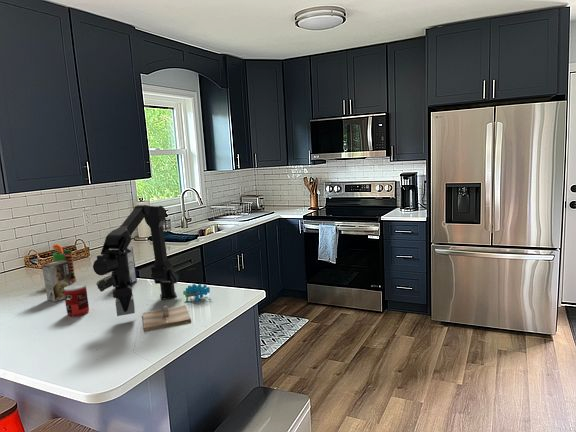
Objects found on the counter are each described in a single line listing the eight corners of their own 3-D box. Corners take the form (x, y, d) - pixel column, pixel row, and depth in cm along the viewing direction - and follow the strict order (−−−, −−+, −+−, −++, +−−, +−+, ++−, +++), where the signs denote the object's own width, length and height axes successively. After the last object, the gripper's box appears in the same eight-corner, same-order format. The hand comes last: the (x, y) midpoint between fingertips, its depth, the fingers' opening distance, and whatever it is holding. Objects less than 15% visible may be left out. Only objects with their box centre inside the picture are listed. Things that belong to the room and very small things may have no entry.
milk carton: (116, 286, 205) (111, 245, 202) (124, 282, 211) (119, 242, 208) (129, 286, 203) (124, 245, 200) (137, 282, 210) (132, 242, 207)
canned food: (68, 311, 173) (64, 285, 171) (90, 308, 175) (86, 282, 174) (66, 318, 165) (62, 290, 164) (88, 314, 168) (84, 287, 167)
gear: (213, 291, 182) (205, 280, 174) (213, 304, 178) (205, 293, 170) (188, 295, 183) (179, 285, 175) (187, 308, 179) (178, 298, 171)
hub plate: (142, 315, 163) (141, 303, 162) (185, 308, 168) (184, 296, 167) (144, 331, 148) (142, 318, 147) (191, 322, 153) (189, 309, 152)
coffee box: (66, 293, 198) (61, 259, 195) (74, 295, 194) (69, 260, 192) (46, 300, 190) (41, 265, 188) (54, 302, 187) (49, 266, 184)
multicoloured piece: (75, 283, 214) (69, 244, 211) (55, 286, 211) (49, 247, 208) (77, 278, 223) (71, 241, 220) (57, 281, 220) (52, 243, 217)
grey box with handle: (117, 310, 159) (115, 296, 158) (134, 307, 161) (132, 293, 160) (117, 316, 154) (115, 301, 153) (134, 313, 156) (133, 298, 155)
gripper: (98, 265, 161) (103, 304, 163) (94, 277, 143) (100, 321, 146) (129, 260, 165) (134, 299, 167) (129, 272, 147) (134, 315, 149)
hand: (125, 308), depth 157 cm, fingers closed on grey box with handle, 6 cm apart
